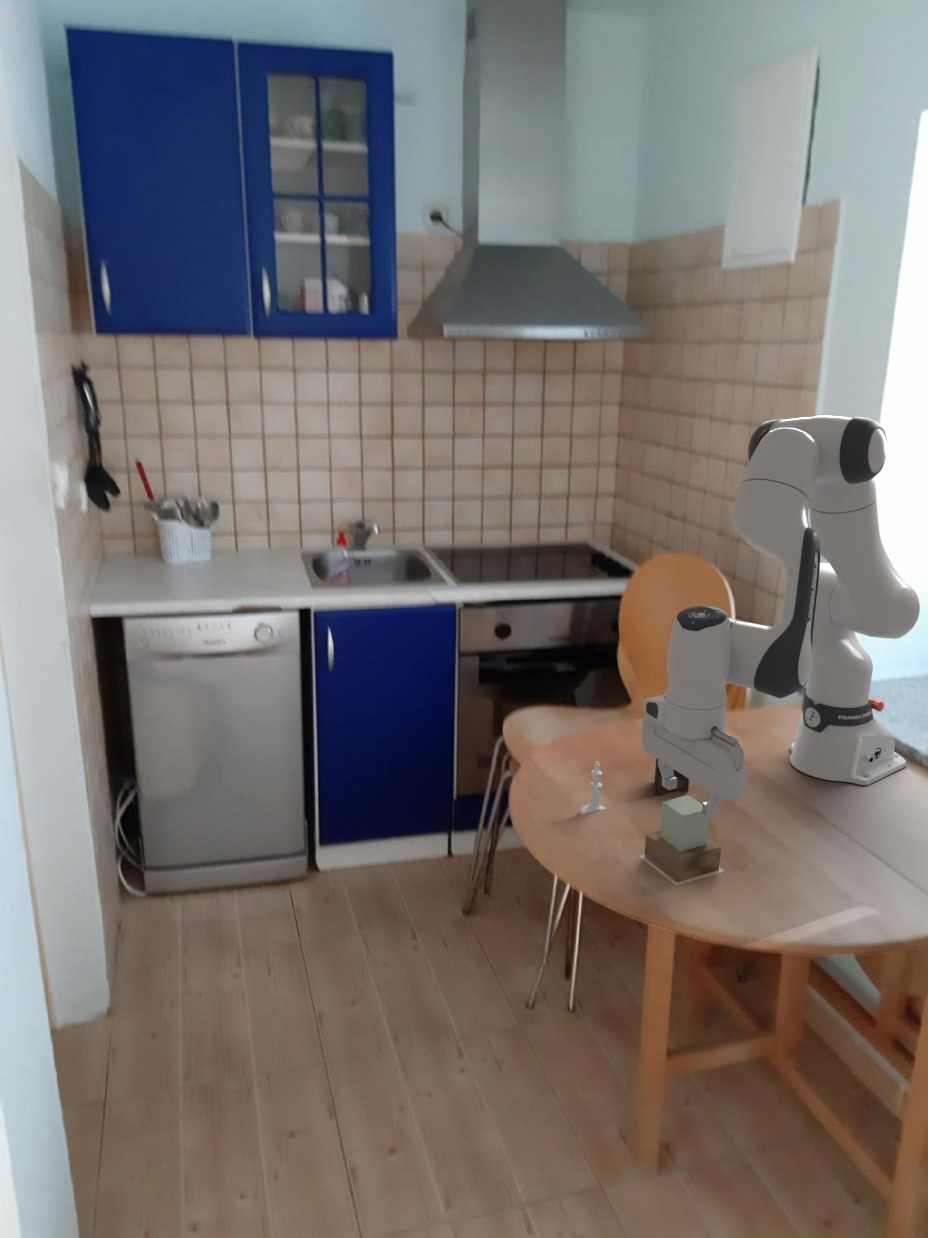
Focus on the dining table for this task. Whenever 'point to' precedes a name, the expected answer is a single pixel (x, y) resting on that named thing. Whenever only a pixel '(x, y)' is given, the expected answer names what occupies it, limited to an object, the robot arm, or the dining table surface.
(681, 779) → the box
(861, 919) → the dining table surface
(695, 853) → the base block
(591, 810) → the chess piece
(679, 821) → the sage block
